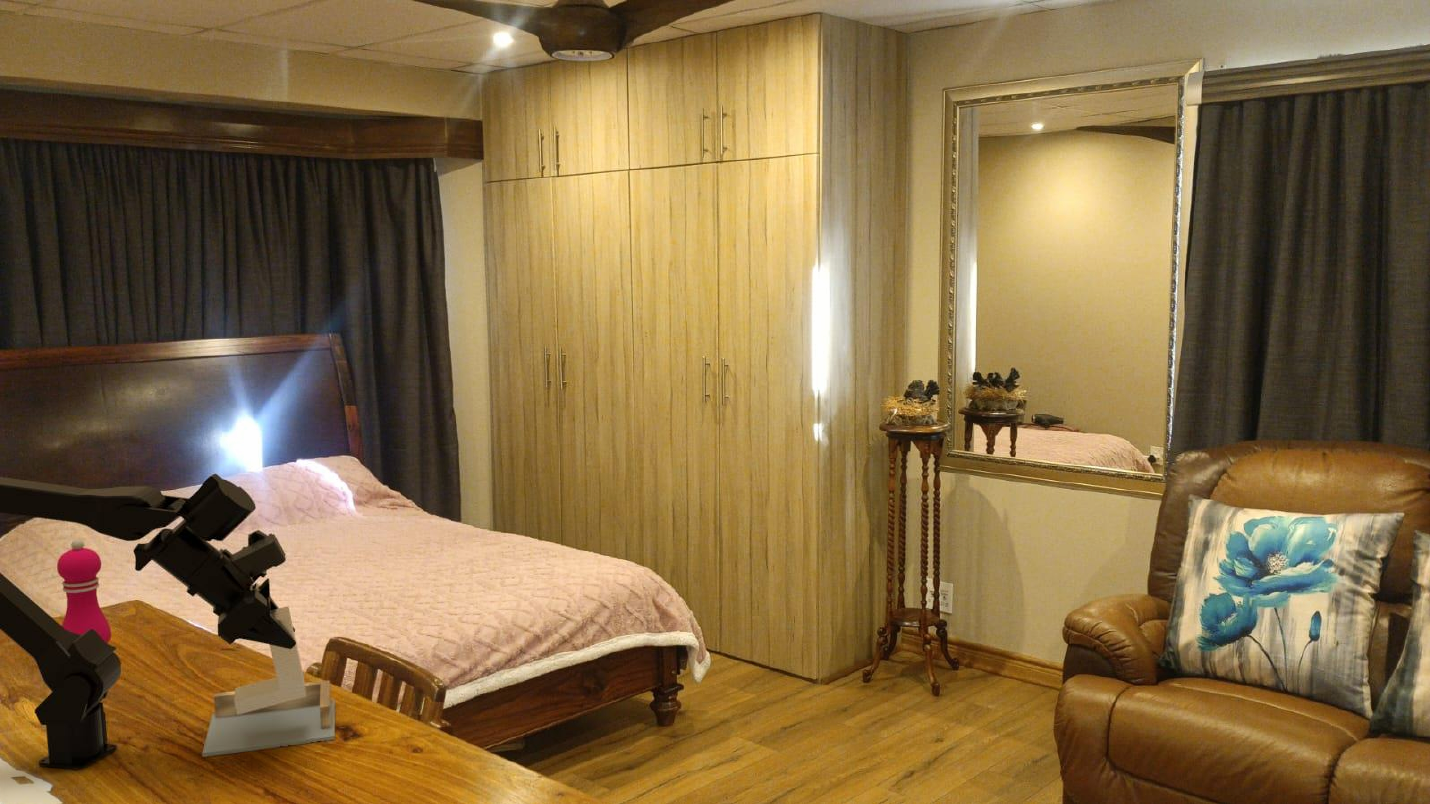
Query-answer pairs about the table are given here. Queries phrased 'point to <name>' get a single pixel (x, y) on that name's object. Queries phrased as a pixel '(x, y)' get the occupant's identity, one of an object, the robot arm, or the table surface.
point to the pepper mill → (82, 591)
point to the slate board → (267, 730)
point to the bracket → (287, 675)
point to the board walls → (314, 696)
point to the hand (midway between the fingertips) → (293, 639)
